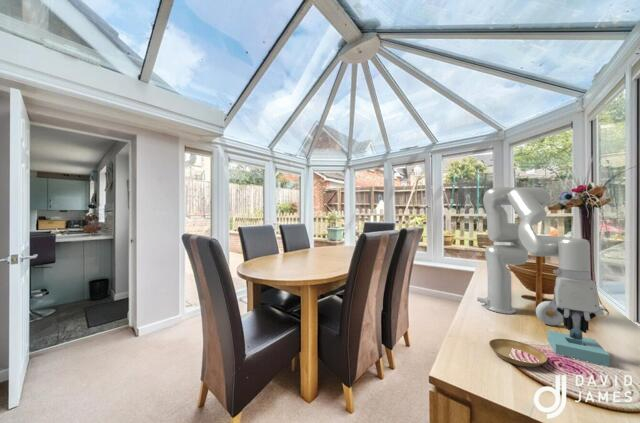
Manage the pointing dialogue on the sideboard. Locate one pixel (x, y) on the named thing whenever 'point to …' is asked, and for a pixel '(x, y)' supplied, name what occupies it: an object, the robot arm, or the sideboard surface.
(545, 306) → the donut
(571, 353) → the slot block
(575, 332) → the steel pin
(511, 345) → the plant saucer
